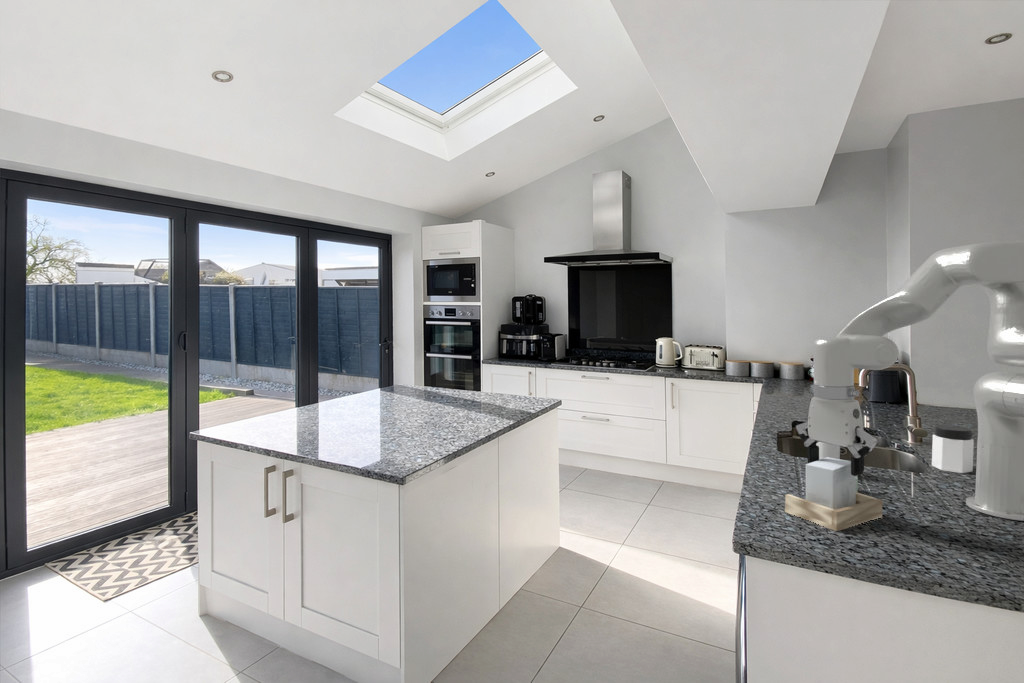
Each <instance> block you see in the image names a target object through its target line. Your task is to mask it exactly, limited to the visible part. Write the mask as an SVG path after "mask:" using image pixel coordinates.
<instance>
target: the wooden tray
mask: <svg viewBox="0 0 1024 683" xmlns="http://www.w3.org/2000/svg"><path fill="white" fill-rule="evenodd" d="M784 500H785V501H784V503H785V504H784V513H787V514H789V515H791V516H794V515H795V516H794V517H796V518H797V517H798V518H799V517H801V519H802V518H803V519H802V520H805V519H806V520H805V521H807V520H809V521H808V522H810V521H811V522H810V523H813V522H814V523H813V524H815V523H816V524H815V525H818V524H819V525H818V526H821V527H823V526H824V527H823V528H826V529H829V530H831V531H834V532H838V531H843V530H845V529H849V527H850V528H852V526H853V527H856V526H859V525H858V524H860V525H862V524H861V523H863V524H865V523H864V522H867V521H870V520H874V519H877V520H879V519H878V518H881V519H883V506H884V504H883V503H884V502H883V499H880V498H876V497H873V496H870V495H868V494H867V495H866V494H863V493H860V492H858V491H857V492H856V504H855V505H852V506H848V507H844V508H840V509H836V510H834V509H831V508H828V507H825V506H822V505H819V504H816V503H813V502H810V501H807V500H806V498H805V499H803V498H801V497H798V496H795V495H793V494H789V493H788V494H785V499H784ZM874 521H875V520H874ZM870 522H871V521H870ZM867 523H868V522H867ZM855 525H856V526H855Z"/></svg>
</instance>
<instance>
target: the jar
mask: <svg viewBox="0 0 1024 683" xmlns="http://www.w3.org/2000/svg"><path fill="white" fill-rule="evenodd" d="M974 441H975V440H974V439H973V429H971V428H969V427H968V428H967V427H965V426H956V425H947V424H943V425H942V424H938V425H935V426H934V434H932V443H931V444H932V447H931V467H933V468H936V469H938V470H940V471H945V472H951V473H957V474H966V473H973V470H974V469H973V468H974V466H973V464H974V443H975V442H974Z"/></svg>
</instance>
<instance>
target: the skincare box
mask: <svg viewBox="0 0 1024 683" xmlns="http://www.w3.org/2000/svg"><path fill="white" fill-rule="evenodd" d="M855 478H856V476H853V475H851V460H847V459H846V460H845V459H835V458H830V457H826V458H823V459H820V460H817V461H814V462H811V463H808V462H807V463H805V500H807V501H810V502H813V503H816V504H819V505H822V506H825V507H828V508H831V509H834V510H836V509H840V508H844V507H848V506H852V505H855V504H856V488H855V485H856V484H855V482H856V479H855Z"/></svg>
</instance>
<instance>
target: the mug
mask: <svg viewBox="0 0 1024 683" xmlns="http://www.w3.org/2000/svg"><path fill="white" fill-rule="evenodd" d="M816 445H817V446H819V460H820V459H823V458H826V457H830V458H835V459H840V456H841V455H840V454H841V446H838V445H833V444H828V443H823V442H818V443H817V444H816Z"/></svg>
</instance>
